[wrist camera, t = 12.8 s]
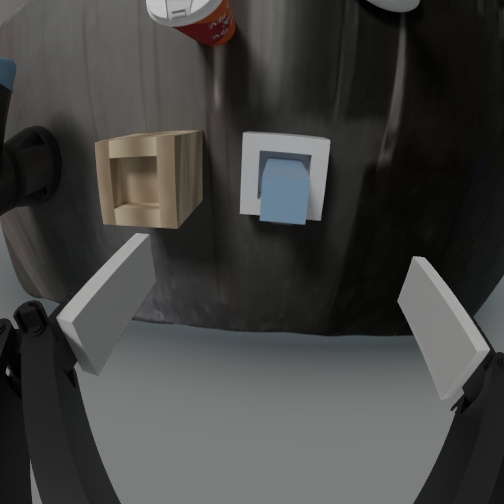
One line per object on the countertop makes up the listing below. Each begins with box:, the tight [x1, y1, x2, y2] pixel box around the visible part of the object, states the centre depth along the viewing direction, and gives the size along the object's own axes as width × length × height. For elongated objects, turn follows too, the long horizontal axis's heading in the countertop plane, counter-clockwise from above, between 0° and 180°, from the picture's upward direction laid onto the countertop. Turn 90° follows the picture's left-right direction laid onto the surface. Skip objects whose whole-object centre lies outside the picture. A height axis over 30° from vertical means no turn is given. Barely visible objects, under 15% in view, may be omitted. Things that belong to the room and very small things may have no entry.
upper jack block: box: [95, 130, 203, 229], centre depth 32 cm, size 10×10×10 cm
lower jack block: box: [240, 131, 330, 221], centre depth 34 cm, size 10×10×4 cm
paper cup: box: [146, 0, 236, 46], centre depth 21 cm, size 8×8×14 cm
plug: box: [260, 157, 310, 226], centre depth 29 cm, size 4×5×12 cm
